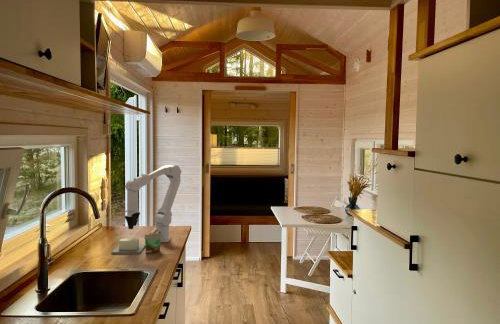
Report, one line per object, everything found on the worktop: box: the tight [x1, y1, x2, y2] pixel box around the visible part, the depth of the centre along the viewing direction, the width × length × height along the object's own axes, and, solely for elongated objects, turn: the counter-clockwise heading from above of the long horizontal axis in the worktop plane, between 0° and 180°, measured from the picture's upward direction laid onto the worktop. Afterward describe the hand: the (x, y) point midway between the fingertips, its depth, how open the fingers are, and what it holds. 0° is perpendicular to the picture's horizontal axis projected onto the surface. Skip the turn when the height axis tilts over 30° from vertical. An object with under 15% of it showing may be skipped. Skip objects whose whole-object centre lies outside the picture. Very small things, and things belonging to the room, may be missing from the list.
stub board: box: [111, 244, 146, 255], centre depth 193 cm, size 14×14×3 cm
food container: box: [144, 229, 162, 255], centre depth 192 cm, size 12×6×10 cm, turn 168°
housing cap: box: [118, 238, 140, 250], centre depth 193 cm, size 5×9×4 cm, turn 94°
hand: (132, 227), depth 200 cm, fingers open, 7 cm apart
